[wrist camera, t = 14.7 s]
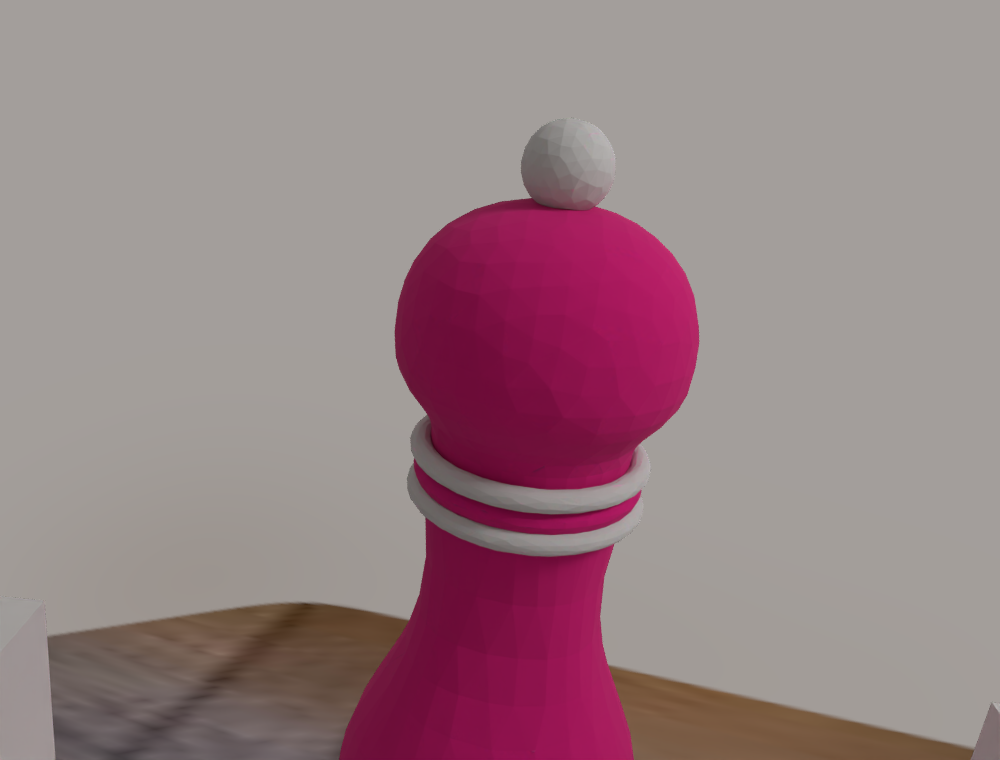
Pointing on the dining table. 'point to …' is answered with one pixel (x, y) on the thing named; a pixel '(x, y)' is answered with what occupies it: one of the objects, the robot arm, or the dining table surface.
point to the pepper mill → (527, 462)
